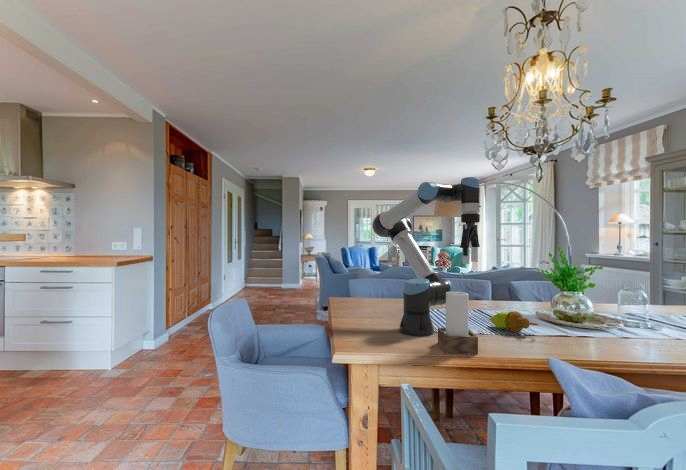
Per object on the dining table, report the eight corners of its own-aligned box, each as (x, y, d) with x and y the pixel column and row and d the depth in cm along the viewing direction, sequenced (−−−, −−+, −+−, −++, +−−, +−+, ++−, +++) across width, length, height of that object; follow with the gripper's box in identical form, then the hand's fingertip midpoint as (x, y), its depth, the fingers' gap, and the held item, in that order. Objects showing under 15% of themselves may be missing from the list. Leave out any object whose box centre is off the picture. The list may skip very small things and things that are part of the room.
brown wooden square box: (444, 353, 125) (444, 336, 125) (437, 343, 137) (437, 327, 137) (477, 354, 124) (477, 337, 124) (468, 343, 136) (468, 328, 136)
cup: (469, 338, 126) (470, 295, 126) (446, 337, 127) (447, 294, 127) (466, 332, 134) (466, 291, 134) (444, 331, 135) (445, 291, 135)
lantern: (481, 327, 163) (529, 334, 141) (482, 308, 165) (530, 312, 143) (494, 329, 166) (543, 336, 144) (495, 311, 168) (544, 315, 146)
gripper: (471, 211, 134) (471, 265, 134) (486, 214, 154) (486, 261, 154) (452, 212, 138) (452, 264, 138) (469, 215, 159) (469, 260, 158)
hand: (470, 262), depth 146 cm, fingers open, 13 cm apart
